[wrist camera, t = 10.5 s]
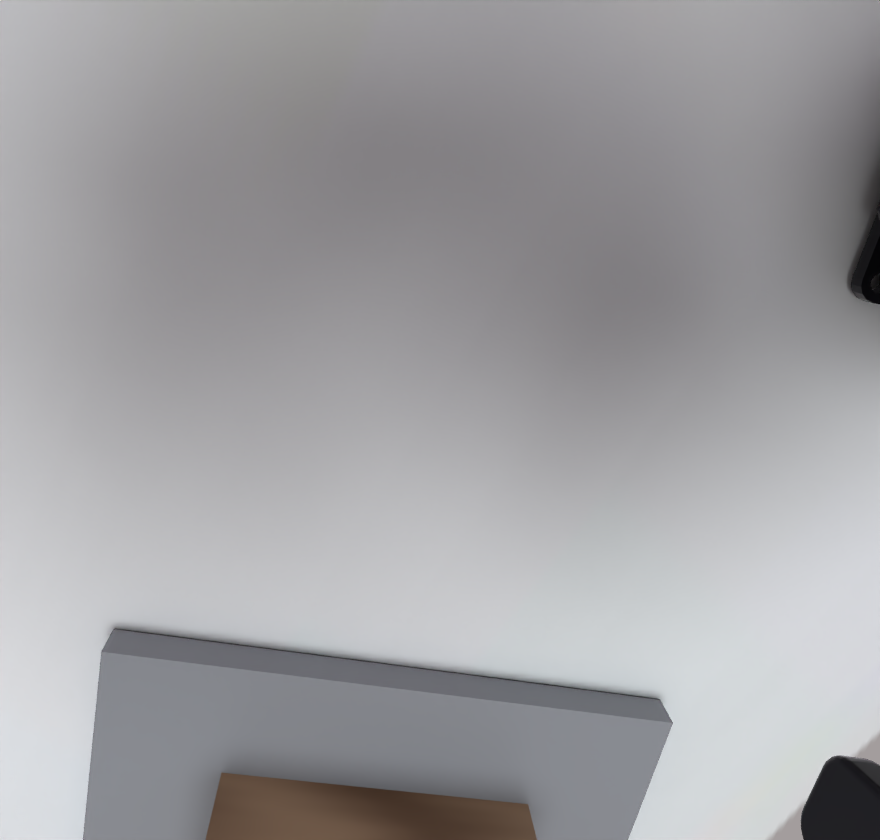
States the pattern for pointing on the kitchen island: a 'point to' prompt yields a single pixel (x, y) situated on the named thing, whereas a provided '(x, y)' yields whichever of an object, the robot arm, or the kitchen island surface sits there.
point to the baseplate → (354, 737)
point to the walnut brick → (356, 813)
